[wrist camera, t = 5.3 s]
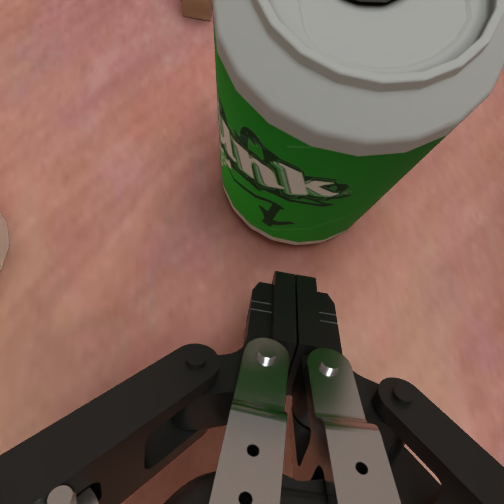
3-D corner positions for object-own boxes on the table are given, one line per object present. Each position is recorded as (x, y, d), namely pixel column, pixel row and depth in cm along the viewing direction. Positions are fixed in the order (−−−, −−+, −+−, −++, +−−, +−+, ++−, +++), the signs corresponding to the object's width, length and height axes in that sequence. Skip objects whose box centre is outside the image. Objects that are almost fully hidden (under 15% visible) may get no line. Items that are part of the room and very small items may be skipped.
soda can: (340, 101, 22) (469, -181, 10) (386, 229, 20) (600, 77, 8) (205, 130, 21) (174, -138, 9) (242, 267, 19) (262, 155, 8)
